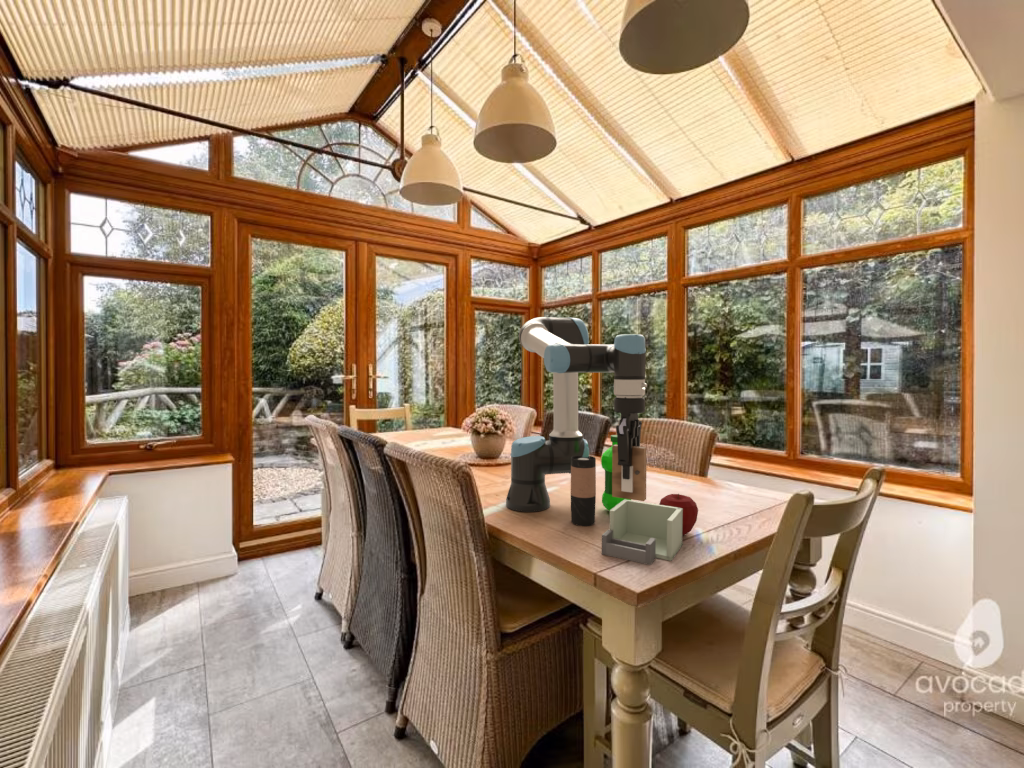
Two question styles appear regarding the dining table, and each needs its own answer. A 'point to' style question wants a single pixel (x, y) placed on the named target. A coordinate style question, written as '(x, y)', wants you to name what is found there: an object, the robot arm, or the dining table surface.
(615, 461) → the door panel
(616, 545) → the cabinet
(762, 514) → the dining table surface
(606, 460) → the plastic bottle
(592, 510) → the travel mug
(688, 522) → the apple
